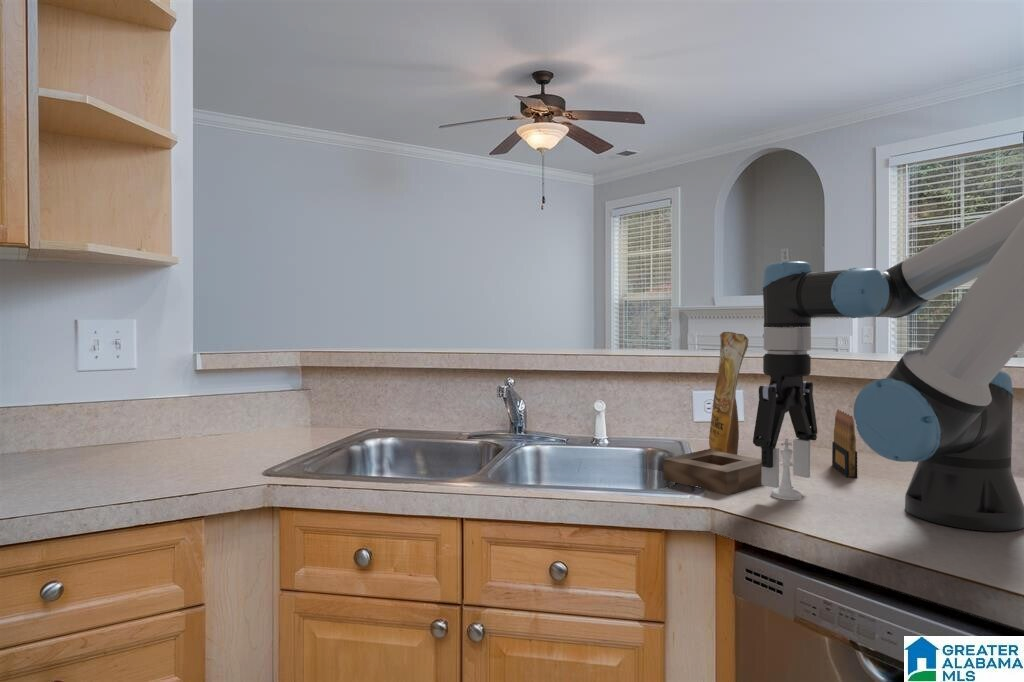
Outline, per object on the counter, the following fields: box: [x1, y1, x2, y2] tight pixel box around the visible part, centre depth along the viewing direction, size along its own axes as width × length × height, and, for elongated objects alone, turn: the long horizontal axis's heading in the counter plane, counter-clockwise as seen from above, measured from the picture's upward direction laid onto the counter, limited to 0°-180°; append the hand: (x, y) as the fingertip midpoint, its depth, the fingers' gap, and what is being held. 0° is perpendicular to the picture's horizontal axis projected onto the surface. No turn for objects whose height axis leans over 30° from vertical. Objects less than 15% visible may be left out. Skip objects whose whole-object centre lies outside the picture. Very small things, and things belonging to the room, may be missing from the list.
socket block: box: [662, 449, 762, 496], centre depth 120 cm, size 14×14×4 cm
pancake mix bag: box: [708, 331, 749, 455], centre depth 144 cm, size 7×19×28 cm, turn 170°
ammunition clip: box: [831, 409, 858, 479], centre depth 126 cm, size 11×2×12 cm, turn 167°
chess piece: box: [770, 438, 803, 501], centre depth 109 cm, size 5×5×10 cm
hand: (786, 480), depth 109 cm, fingers open, 10 cm apart
